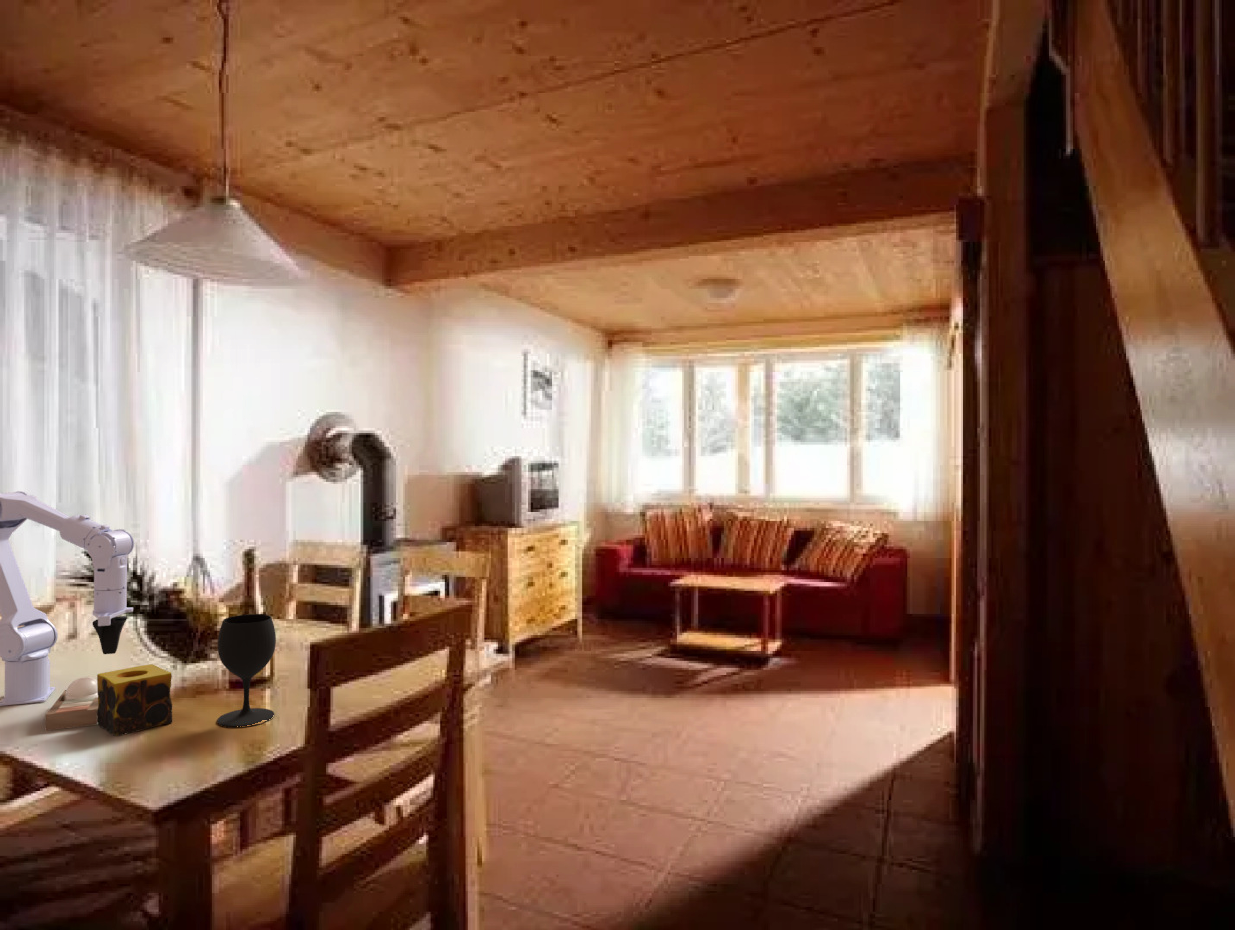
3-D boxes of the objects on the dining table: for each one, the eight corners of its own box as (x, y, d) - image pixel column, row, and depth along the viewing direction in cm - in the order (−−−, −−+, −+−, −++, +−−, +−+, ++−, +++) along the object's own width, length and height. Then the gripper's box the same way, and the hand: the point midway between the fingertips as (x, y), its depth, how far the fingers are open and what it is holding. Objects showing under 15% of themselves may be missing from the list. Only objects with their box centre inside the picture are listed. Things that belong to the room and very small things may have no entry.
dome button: (69, 704, 156) (69, 675, 156) (103, 700, 158) (104, 672, 158) (62, 713, 150) (62, 683, 150) (98, 709, 153) (98, 680, 153)
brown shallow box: (64, 704, 157) (65, 689, 157) (110, 699, 160) (111, 684, 160) (45, 730, 142) (45, 713, 142) (96, 724, 146) (96, 708, 146)
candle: (173, 723, 147) (174, 672, 147) (113, 737, 140) (114, 684, 139) (153, 711, 154) (154, 662, 154) (95, 724, 146) (96, 673, 146)
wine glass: (259, 706, 158) (261, 611, 158) (284, 718, 151) (285, 618, 151) (207, 719, 150) (208, 618, 150) (230, 732, 143) (232, 627, 143)
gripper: (127, 593, 153) (126, 660, 153) (137, 581, 166) (137, 643, 166) (85, 595, 150) (85, 663, 150) (99, 583, 163) (98, 646, 163)
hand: (109, 653), depth 158 cm, fingers closed
